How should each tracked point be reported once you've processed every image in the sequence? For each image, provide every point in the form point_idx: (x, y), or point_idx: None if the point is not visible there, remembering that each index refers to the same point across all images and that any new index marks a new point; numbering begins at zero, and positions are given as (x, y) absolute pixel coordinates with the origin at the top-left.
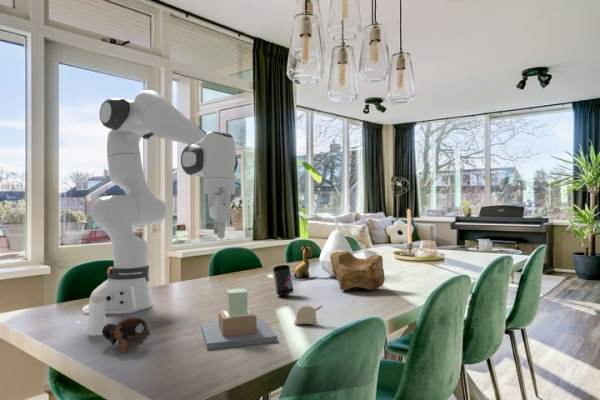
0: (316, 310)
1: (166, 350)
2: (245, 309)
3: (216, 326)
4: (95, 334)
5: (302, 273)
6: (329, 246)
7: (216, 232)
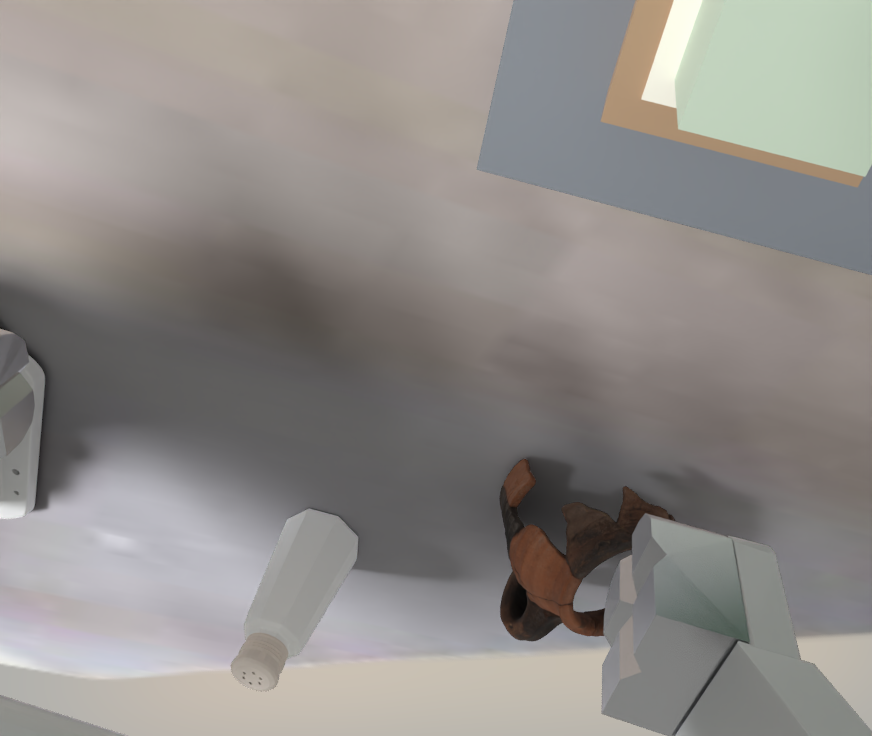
0: None
1: (728, 415)
2: None
3: (591, 102)
4: (355, 557)
5: None
6: None
7: (2, 417)
